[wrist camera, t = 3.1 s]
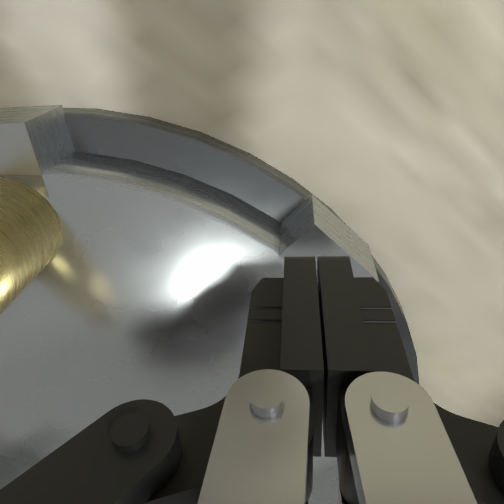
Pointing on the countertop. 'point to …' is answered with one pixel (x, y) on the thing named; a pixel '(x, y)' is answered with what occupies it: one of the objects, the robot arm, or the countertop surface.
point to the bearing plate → (205, 171)
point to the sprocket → (129, 286)
